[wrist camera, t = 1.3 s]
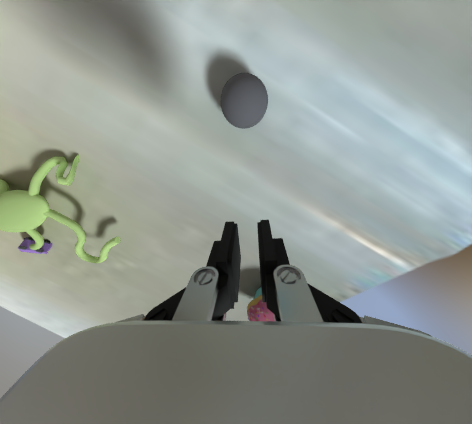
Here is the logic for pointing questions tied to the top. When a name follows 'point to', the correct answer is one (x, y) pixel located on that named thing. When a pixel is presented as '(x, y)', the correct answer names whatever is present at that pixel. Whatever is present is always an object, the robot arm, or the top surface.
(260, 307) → the cupcake
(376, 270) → the top surface
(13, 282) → the top surface
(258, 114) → the dark gray ball
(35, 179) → the figurine
